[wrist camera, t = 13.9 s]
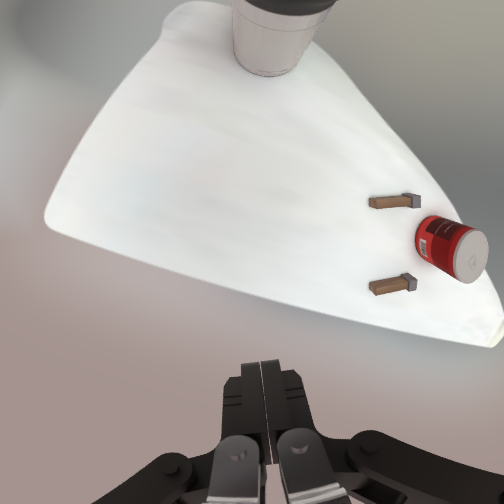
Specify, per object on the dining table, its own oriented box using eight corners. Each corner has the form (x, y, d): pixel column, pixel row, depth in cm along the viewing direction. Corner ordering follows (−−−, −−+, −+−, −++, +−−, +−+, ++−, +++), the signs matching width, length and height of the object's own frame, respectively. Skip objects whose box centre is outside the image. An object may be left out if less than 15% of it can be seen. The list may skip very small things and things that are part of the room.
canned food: (432, 267, 41) (471, 292, 31) (406, 244, 40) (447, 268, 29) (453, 231, 40) (495, 249, 29) (428, 205, 38) (473, 219, 28)
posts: (402, 193, 38) (412, 196, 35) (409, 193, 38) (420, 195, 35) (400, 284, 42) (408, 291, 39) (407, 282, 42) (416, 289, 39)
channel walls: (369, 198, 38) (376, 200, 35) (402, 195, 38) (411, 197, 35) (369, 289, 42) (375, 295, 39) (400, 282, 42) (407, 288, 39)
